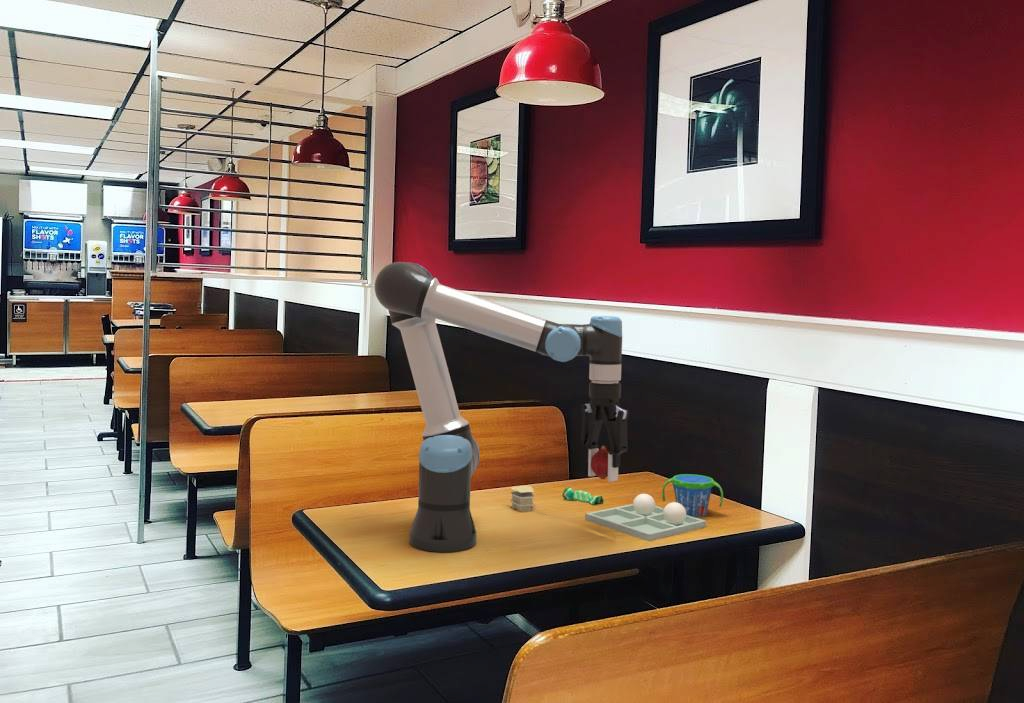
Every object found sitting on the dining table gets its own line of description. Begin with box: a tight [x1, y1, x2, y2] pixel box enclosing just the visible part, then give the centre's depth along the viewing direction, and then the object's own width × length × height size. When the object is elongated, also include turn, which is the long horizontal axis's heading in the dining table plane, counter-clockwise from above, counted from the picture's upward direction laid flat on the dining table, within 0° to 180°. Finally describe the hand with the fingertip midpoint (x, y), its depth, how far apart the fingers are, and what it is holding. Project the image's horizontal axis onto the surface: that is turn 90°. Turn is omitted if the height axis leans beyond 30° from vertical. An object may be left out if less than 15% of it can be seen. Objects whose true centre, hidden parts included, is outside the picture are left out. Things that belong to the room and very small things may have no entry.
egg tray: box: [584, 503, 707, 542], centre depth 208 cm, size 21×21×2 cm
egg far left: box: [632, 493, 656, 516], centre depth 215 cm, size 6×6×6 cm
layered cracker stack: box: [510, 485, 535, 513], centre depth 222 cm, size 10×9×6 cm
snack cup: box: [661, 473, 724, 518], centre depth 219 cm, size 16×10×10 cm
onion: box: [591, 445, 610, 480], centre depth 200 cm, size 6×6×8 cm
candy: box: [561, 486, 604, 506], centre depth 229 cm, size 12×3×4 cm
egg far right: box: [663, 501, 686, 525], centre depth 207 cm, size 6×6×6 cm
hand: (602, 477), depth 200 cm, fingers closed on onion, 6 cm apart
